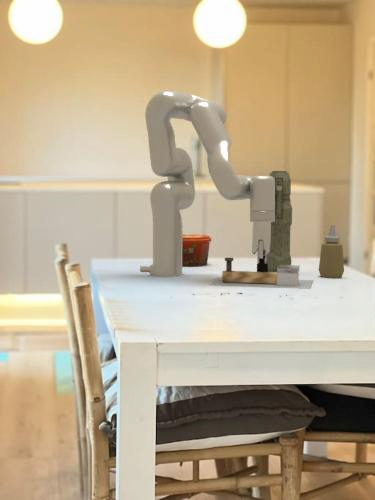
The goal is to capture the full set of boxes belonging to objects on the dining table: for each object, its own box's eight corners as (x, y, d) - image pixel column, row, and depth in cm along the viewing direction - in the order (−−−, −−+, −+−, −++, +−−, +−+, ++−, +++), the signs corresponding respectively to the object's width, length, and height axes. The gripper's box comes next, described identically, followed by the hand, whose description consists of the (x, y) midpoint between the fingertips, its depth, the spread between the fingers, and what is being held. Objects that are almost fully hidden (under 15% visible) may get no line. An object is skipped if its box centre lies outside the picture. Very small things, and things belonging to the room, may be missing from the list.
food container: (171, 261, 333) (171, 233, 332) (213, 262, 331) (213, 234, 330) (164, 266, 317) (164, 237, 316) (208, 267, 315) (208, 238, 314)
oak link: (221, 281, 264) (221, 258, 263) (223, 280, 268) (223, 257, 267) (297, 284, 259) (297, 260, 258) (298, 282, 263) (299, 259, 262)
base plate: (207, 290, 259) (207, 285, 259) (218, 281, 278) (218, 277, 277) (309, 293, 253) (310, 288, 253) (313, 285, 272) (313, 280, 272)
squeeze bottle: (343, 283, 276) (345, 226, 274) (317, 282, 277) (319, 225, 276) (344, 280, 284) (345, 224, 282) (319, 279, 285) (320, 224, 283)
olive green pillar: (266, 278, 287) (268, 171, 283) (262, 273, 298) (263, 170, 295) (293, 278, 287) (295, 171, 284) (288, 273, 299) (290, 171, 295)
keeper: (276, 285, 259) (277, 267, 258) (279, 282, 267) (279, 264, 266) (297, 286, 258) (297, 268, 257) (299, 282, 265) (299, 265, 265)
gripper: (252, 215, 273) (252, 273, 274) (247, 218, 258) (247, 279, 260) (276, 215, 272) (276, 274, 273) (273, 218, 257) (272, 280, 259)
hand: (262, 276), depth 266 cm, fingers closed
